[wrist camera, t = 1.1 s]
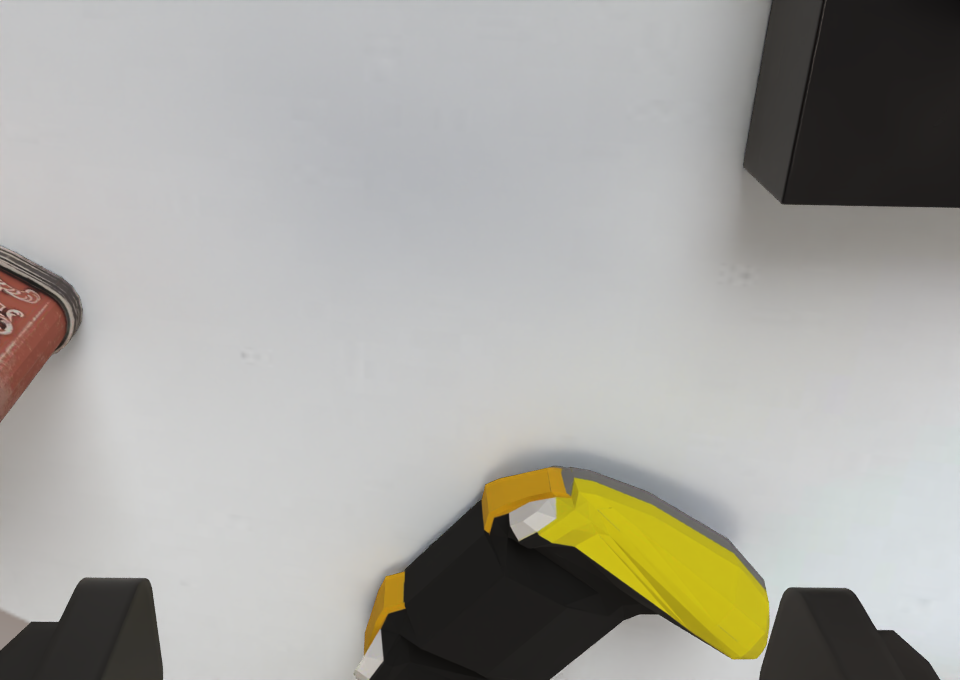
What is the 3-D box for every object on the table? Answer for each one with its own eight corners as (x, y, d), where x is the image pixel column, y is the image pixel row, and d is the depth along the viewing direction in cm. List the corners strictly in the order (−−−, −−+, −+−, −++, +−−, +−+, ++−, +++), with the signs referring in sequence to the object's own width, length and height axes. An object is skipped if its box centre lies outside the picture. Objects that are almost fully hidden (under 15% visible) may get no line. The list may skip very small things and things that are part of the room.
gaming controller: (756, 533, 35) (574, 390, 31) (810, 641, 30) (601, 487, 26) (494, 739, 40) (310, 635, 36) (504, 862, 35) (293, 756, 31)
